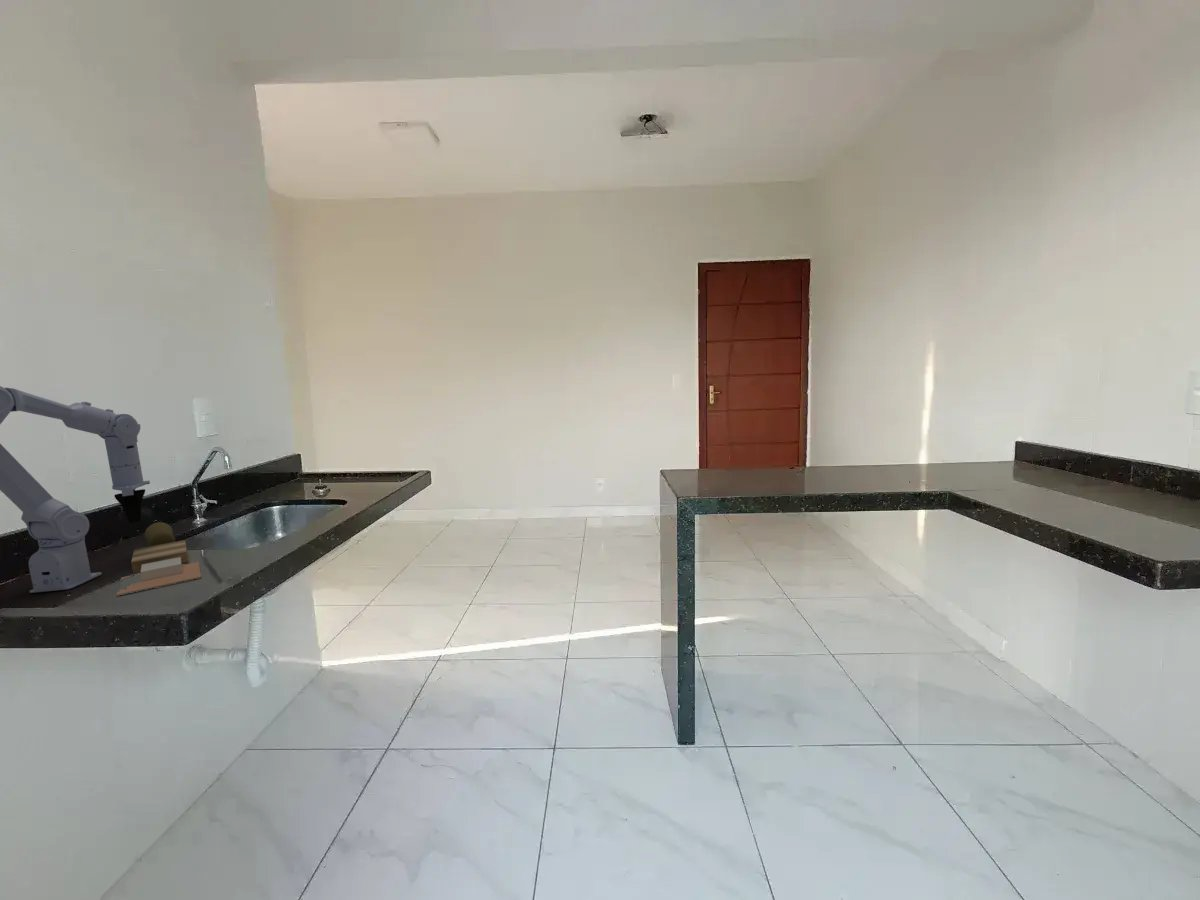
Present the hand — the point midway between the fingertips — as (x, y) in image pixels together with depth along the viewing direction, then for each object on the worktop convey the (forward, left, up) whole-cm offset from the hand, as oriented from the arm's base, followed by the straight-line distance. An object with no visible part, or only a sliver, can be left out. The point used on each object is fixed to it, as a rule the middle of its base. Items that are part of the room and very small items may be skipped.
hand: (135, 521), depth 142 cm
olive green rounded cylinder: (+14, +4, -6) cm, 16 cm away
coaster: (-15, -14, -9) cm, 22 cm away
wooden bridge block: (-5, -7, -9) cm, 13 cm away
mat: (-18, -15, -9) cm, 25 cm away
